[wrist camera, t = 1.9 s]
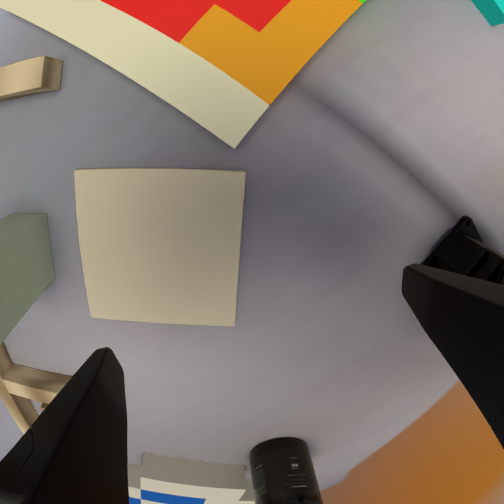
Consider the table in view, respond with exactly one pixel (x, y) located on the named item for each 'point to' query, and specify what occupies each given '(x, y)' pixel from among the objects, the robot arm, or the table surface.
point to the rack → (3, 371)
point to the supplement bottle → (284, 473)
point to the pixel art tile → (187, 482)
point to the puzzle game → (204, 47)
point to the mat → (161, 243)
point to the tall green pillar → (23, 266)
